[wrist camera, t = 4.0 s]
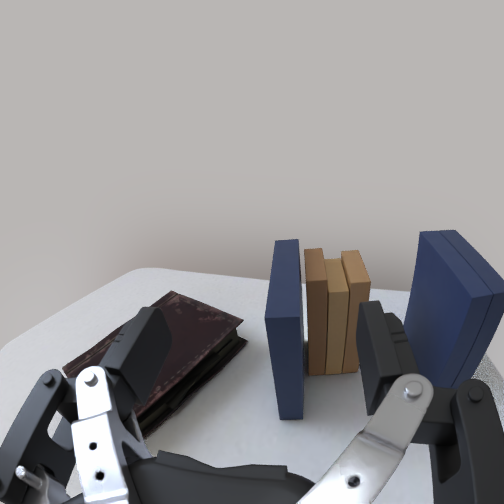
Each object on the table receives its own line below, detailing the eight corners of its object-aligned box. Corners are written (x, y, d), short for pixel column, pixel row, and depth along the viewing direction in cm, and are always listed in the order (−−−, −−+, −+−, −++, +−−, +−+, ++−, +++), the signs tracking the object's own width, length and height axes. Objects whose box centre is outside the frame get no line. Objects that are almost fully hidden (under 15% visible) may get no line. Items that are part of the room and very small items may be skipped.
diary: (74, 384, 36) (59, 364, 34) (176, 308, 53) (168, 287, 51) (132, 457, 26) (112, 440, 23) (252, 344, 42) (247, 320, 40)
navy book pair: (432, 327, 38) (455, 229, 30) (460, 395, 26) (512, 290, 18) (401, 331, 39) (419, 231, 31) (424, 404, 27) (472, 298, 19)
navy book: (304, 340, 42) (298, 238, 34) (303, 419, 29) (299, 316, 22) (285, 341, 42) (275, 240, 34) (279, 419, 30) (264, 317, 22)
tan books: (351, 337, 40) (358, 245, 33) (357, 372, 34) (371, 276, 27) (307, 340, 41) (304, 249, 34) (308, 375, 35) (306, 281, 28)
